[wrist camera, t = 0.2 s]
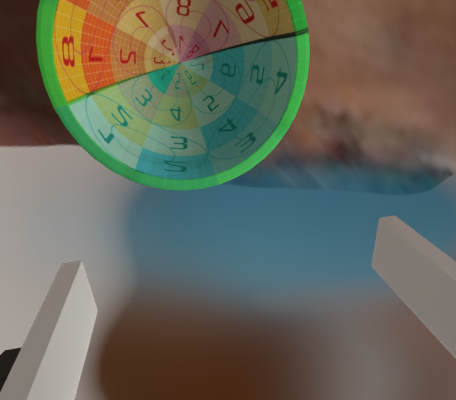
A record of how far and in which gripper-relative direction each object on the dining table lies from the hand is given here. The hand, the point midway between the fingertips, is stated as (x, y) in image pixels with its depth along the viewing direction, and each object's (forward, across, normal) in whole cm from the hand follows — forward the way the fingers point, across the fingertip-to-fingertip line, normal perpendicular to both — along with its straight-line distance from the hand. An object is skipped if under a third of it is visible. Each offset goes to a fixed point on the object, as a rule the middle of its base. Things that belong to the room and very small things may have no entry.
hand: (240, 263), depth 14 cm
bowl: (+28, -1, +7) cm, 29 cm away
